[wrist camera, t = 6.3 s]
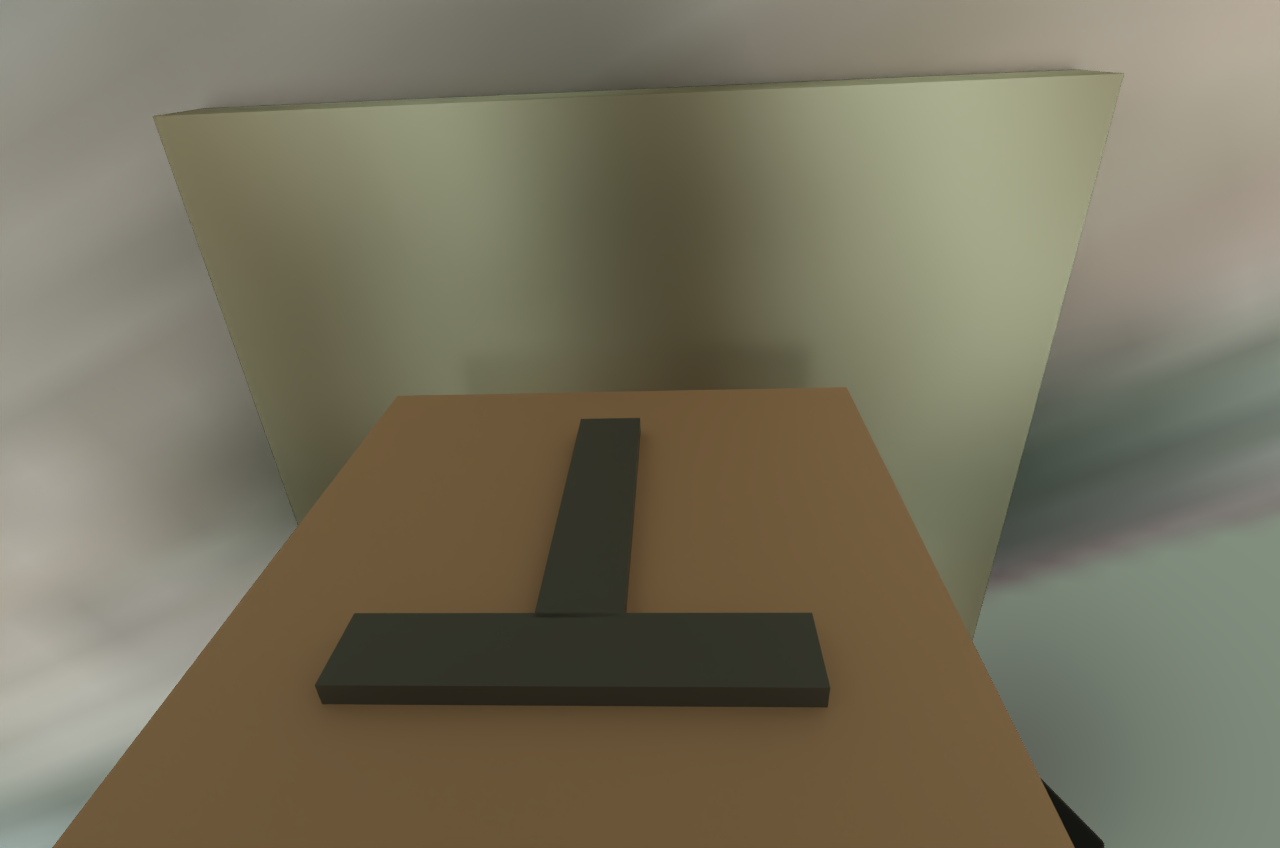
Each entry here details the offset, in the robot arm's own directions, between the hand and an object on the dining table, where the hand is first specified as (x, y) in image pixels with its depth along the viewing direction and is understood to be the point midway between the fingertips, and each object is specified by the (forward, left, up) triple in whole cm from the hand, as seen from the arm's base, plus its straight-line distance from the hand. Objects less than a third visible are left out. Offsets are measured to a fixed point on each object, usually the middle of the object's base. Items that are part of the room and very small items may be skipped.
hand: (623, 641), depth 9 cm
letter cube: (0, 0, -2) cm, 2 cm away
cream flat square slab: (0, 0, -5) cm, 5 cm away
